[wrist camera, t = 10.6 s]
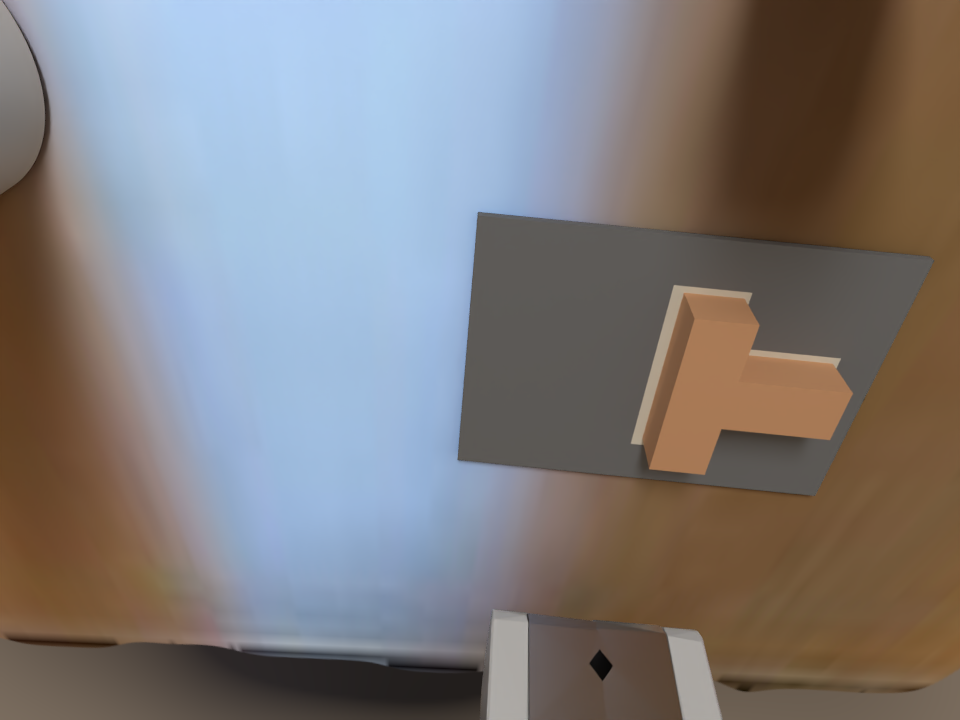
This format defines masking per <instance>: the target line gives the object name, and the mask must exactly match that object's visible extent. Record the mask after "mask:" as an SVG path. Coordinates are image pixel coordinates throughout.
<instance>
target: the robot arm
mask: <svg viewBox="0 0 960 720" xmlns="http://www.w3.org/2000/svg"><path fill="white" fill-rule="evenodd" d="M44 128H45V106H44V97H43V91H42V86H41V82H40V78H39V75H38V71H37V68H36V65H35V62H34V60H33V57H32V54H31V52H30V50H29V47H28V45H27V43H26V41H25V39H24V37H23V35H22V33H21V31H20V29H19V27H18V25H17V24H16V22H15V20H14V19H13V17H12V15H11V14H10V12H9V11H8V9H7V8H6V6H5V5H4V3H3V2H2V0H0V195H1V194H2V193H3V192H5V191H6V190H8V189H9V188H11V187H12V186H14V185H15V184H16V183H18V182H19V181H20V180H21V179H22V178H23V177H24V176H25V175H26V174H27V173H28V171H29V170H30V169H31V167H32V165H33V164H34V162H35V160H36V158H37V156H38V154H39V151H40V148H41V145H42V141H43V136H44ZM480 720H723V719H722V715H721V711H720V707H719V703H718V699H717V695H716V691H715V687H714V683H713V679H712V675H711V671H710V666H709V662H708V658H707V654H706V650H705V646H704V642H703V638H702V637H701V635H700V634H699V632H698V631H696V630H692V629H680V628H668V627H660V626H659V625H647V624H635V623H623V622H612V621H600V620H593V621H590V620H581V619H572V618H564V617H555V616H547V615H538V614H530V613H528V614H527V613H524V612H514V611H504V610H494V609H493V610H492V612H491V619H490V626H489V632H488V639H487V646H486V653H485V662H484V671H483V680H482V693H481V708H480Z"/></svg>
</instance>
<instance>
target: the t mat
mask: <svg viewBox="0 0 960 720" xmlns="http://www.w3.org/2000/svg"><path fill="white" fill-rule="evenodd" d="M933 262H934V260H933V259H932V258H931V257H927V256H917V255H907V254H897V253H887V252H877V251H867V250H857V249H847V248H836V247H826V246H816V245H806V244H796V243H786V242H776V241H766V240H755V239H745V238H735V237H725V236H715V235H705V234H695V233H685V232H675V231H664V230H654V229H644V228H634V227H624V226H614V225H604V224H594V223H584V222H573V221H563V220H553V219H543V218H533V217H523V216H513V215H503V214H493V213H482V212H478V218H477V230H476V243H475V255H474V267H473V279H472V291H471V304H470V316H469V328H468V340H467V353H466V365H465V377H464V389H463V401H462V414H461V426H460V438H459V450H458V460H466V461H476V462H486V463H495V464H505V465H515V466H525V467H535V468H545V469H555V470H565V471H575V472H584V473H594V474H604V475H614V476H624V477H634V478H644V479H654V480H664V481H673V482H683V483H693V484H703V485H713V486H723V487H733V488H743V489H753V490H762V491H772V492H782V493H792V494H802V495H812V496H815V495H816V493H817V491H818V489H819V487H820V485H821V483H822V481H823V479H824V477H825V475H826V473H827V471H828V469H829V467H830V465H831V463H832V461H833V459H834V457H835V455H836V453H837V451H838V450H839V448H840V446H841V444H842V442H843V440H844V438H845V436H846V434H847V432H848V430H849V428H850V426H851V424H852V422H853V420H854V418H855V416H856V414H857V412H858V410H859V408H860V406H861V404H862V402H863V400H864V398H865V396H866V394H867V392H868V390H869V388H870V386H871V384H872V382H873V380H874V378H875V377H876V375H877V373H878V371H879V369H880V367H881V365H882V363H883V361H884V359H885V357H886V355H887V353H888V351H889V349H890V347H891V345H892V343H893V341H894V339H895V337H896V335H897V333H898V331H899V329H900V327H901V325H902V323H903V321H904V319H905V317H906V315H907V313H908V311H909V309H910V307H911V305H912V304H913V302H914V300H915V298H916V296H917V294H918V292H919V290H920V288H921V286H922V284H923V282H924V280H925V278H926V276H927V274H928V272H929V270H930V268H931V266H932V264H933ZM684 293H693V294H703V295H713V296H723V297H733V298H743V299H745V300H746V302H747V304H748V305H749V307H750V309H751V311H752V313H753V314H754V316H755V318H756V320H757V321H758V323H759V325H760V326H759V329H758V331H757V334H756V337H755V340H754V342H753V345H752V348H751V350H750V353H749V355H751V356H761V357H771V358H781V359H791V360H801V361H810V362H820V363H830V364H833V365H834V366H835V368H836V369H837V370H838V372H839V373H840V375H841V376H842V378H843V379H844V381H845V382H846V384H847V385H848V387H849V388H850V390H851V391H852V393H853V394H852V396H851V398H850V400H849V403H848V405H847V407H846V409H845V411H844V413H843V415H842V417H841V419H840V421H839V423H838V425H837V427H836V429H835V431H834V433H833V435H832V437H831V439H830V440H824V439H814V438H805V437H795V436H785V435H775V434H765V433H755V432H745V431H736V430H726V429H721V432H720V434H719V437H718V440H717V443H716V445H715V448H714V451H713V453H712V456H711V459H710V462H709V464H708V467H707V470H706V472H705V475H701V474H692V473H682V472H672V471H662V470H652V469H649V466H648V461H647V457H646V452H645V448H644V443H643V439H642V438H643V434H644V431H645V427H646V424H647V420H648V417H649V413H650V410H651V406H652V403H653V399H654V396H655V392H656V389H657V385H658V382H659V378H660V375H661V371H662V368H663V364H664V361H665V357H666V354H667V350H668V347H669V343H670V340H671V336H672V333H673V329H674V326H675V322H676V319H677V315H678V312H679V308H680V305H681V301H682V298H683V294H684Z"/></svg>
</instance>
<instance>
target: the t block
mask: <svg viewBox="0 0 960 720" xmlns="http://www.w3.org/2000/svg"><path fill="white" fill-rule="evenodd" d="M759 326H760V325H759V323H758V321H757V320H756V318H755V316H754V314H753V313H752V311H751V309H750V307H749V305H748V304H747V302H746V300H745V299H743V298H733V297H723V296H713V295H703V294H693V293H684V294H683V298H682V301H681V305H680V308H679V312H678V315H677V319H676V322H675V326H674V329H673V333H672V336H671V340H670V343H669V347H668V350H667V354H666V357H665V361H664V364H663V368H662V371H661V375H660V378H659V382H658V385H657V389H656V392H655V396H654V399H653V403H652V406H651V410H650V413H649V417H648V420H647V424H646V427H645V431H644V434H643V438H642V439H643V443H644V448H645V452H646V457H647V461H648V466H649V469H652V470H662V471H672V472H682V473H692V474H701V475H705V472H706V470H707V467H708V464H709V462H710V459H711V456H712V453H713V451H714V448H715V445H716V443H717V440H718V437H719V434H720V432H721V429H726V430H736V431H745V432H755V433H765V434H775V435H785V436H795V437H805V438H814V439H824V440H830V439H831V437H832V435H833V433H834V431H835V429H836V427H837V425H838V423H839V421H840V419H841V417H842V415H843V413H844V411H845V409H846V407H847V405H848V403H849V400H850V398H851V396H852V394H853V393H852V391H851V390H850V388H849V387H848V385H847V384H846V382H845V381H844V379H843V378H842V376H841V375H840V373H839V372H838V370H837V369H836V368H835V366H834V365H833V364H830V363H820V362H810V361H801V360H791V359H781V358H771V357H761V356H751V355H749V353H750V350H751V348H752V345H753V342H754V340H755V337H756V334H757V331H758V329H759Z"/></svg>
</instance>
